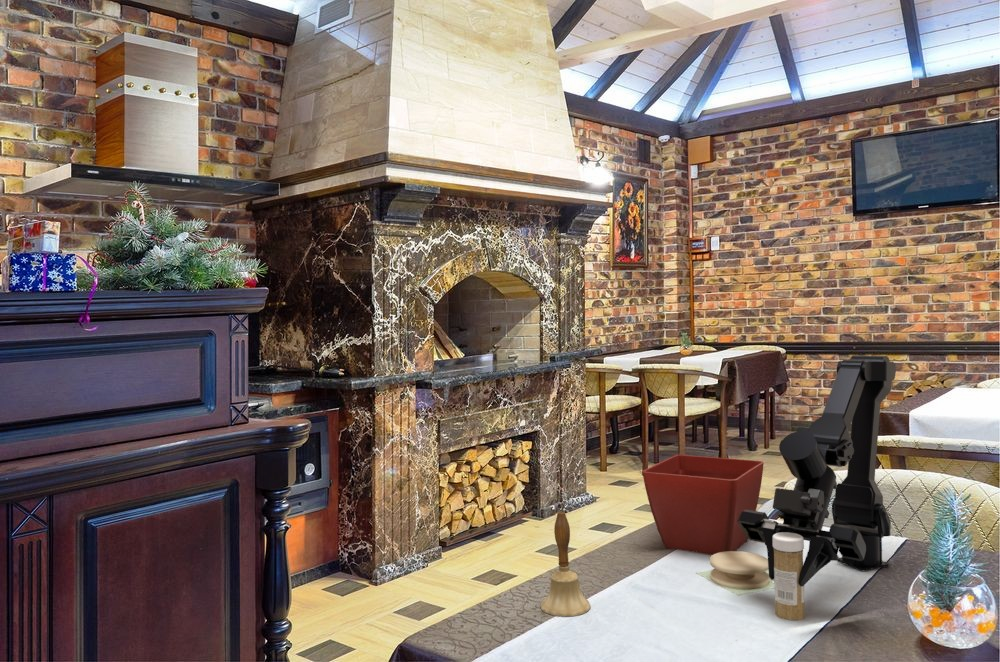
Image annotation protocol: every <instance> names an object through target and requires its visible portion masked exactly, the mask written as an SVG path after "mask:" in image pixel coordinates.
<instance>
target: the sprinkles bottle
mask: <svg viewBox="0 0 1000 662" xmlns="http://www.w3.org/2000/svg"><path fill="white" fill-rule="evenodd" d="M773 547H774V548H773V549H774V581H773V583H774V603H775V606H774V608H775V611H774V612H775V615H776V617H778V618H779V619H782V620H786V621H802V620H803V619H805V617H806V616H805V585H804V586H800V585H799V583H798V582H799V577H800V573H801V570H802V567H803V564H804V553H803V552H804V549H805V540H804V539H803V537H802V536H801V535H799V534H796V533H789V532H781V533H776V534H774V535H773Z"/></svg>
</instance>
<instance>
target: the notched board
mask: <svg viewBox="0 0 1000 662" xmlns="http://www.w3.org/2000/svg"><path fill="white" fill-rule="evenodd" d="M711 570H712V569H709V570H705V571H698V572H695V574H697V575H699V576H700V577H701V578H704V579H706V580H707V581H710V582H712V583H713V584H716V583H714V582H713V581H712V580H711V578H710V572H711ZM765 572H766V573H768V574H769V569H768V570H767V571H765ZM716 585H717V586H719V587H721V588H723V589H725V590H727V591H729V592H731V593H732V594H735V595H736V596H743V595H748V594H753V593H757V592H763V591H769V590H773V589H774V580H771V579H770V583H769V584H768V585H767V586H765V587H763V588H759V589H749V590H744V589H733V588H727V587H724V586H721V585H718V584H716Z"/></svg>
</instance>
